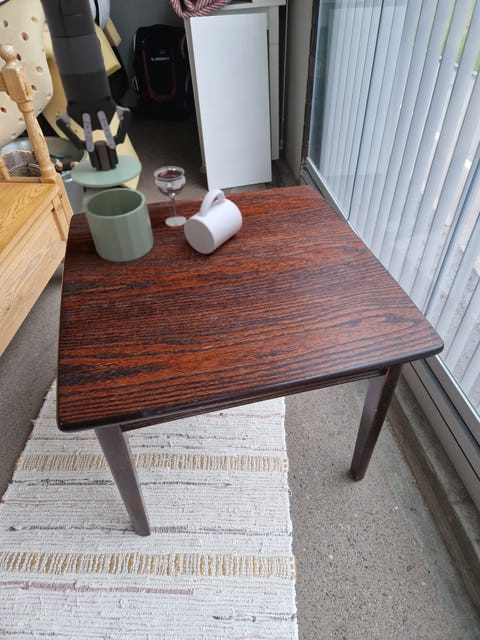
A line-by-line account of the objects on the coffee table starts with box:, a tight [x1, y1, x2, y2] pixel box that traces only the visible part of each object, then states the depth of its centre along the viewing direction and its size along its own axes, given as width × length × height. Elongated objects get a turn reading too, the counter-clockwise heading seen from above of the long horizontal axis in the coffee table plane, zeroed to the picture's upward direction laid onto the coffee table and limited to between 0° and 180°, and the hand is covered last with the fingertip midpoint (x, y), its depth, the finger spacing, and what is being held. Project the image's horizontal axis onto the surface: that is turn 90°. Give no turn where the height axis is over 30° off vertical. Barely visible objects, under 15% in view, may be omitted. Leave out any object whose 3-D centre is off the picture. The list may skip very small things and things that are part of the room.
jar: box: [83, 187, 154, 263], centre depth 90 cm, size 12×12×10 cm
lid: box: [70, 139, 143, 188], centre depth 80 cm, size 13×13×6 cm
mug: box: [183, 188, 243, 255], centre depth 90 cm, size 8×10×12 cm
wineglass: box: [153, 165, 187, 227], centre depth 97 cm, size 7×7×12 cm
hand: (106, 167), depth 81 cm, fingers closed on lid, 2 cm apart
